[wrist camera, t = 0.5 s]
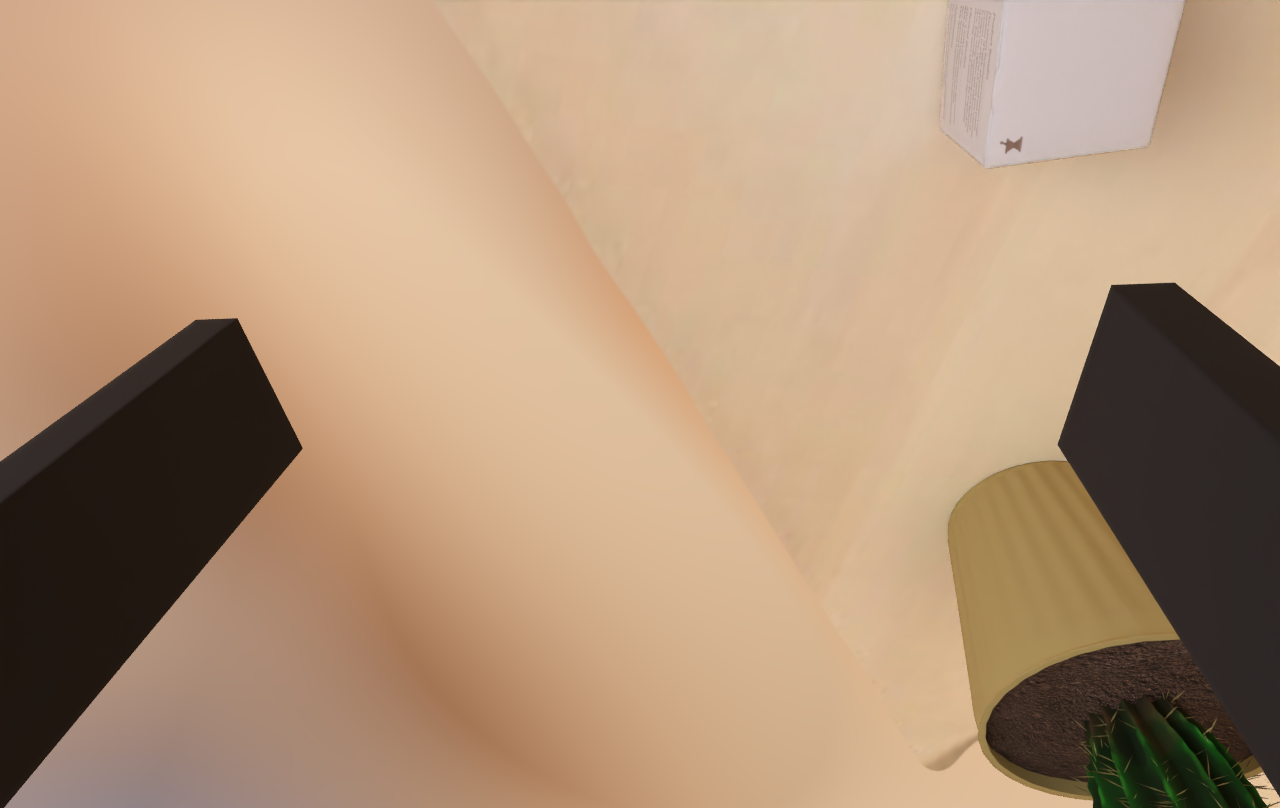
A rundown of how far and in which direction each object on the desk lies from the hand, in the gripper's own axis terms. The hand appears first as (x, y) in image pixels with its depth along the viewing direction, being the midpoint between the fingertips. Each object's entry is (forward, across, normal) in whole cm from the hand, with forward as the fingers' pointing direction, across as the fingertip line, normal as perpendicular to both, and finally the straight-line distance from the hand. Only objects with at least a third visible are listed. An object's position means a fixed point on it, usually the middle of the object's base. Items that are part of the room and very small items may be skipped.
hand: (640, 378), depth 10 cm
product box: (+27, +14, 0) cm, 31 cm away
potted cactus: (+27, +22, -30) cm, 46 cm away
